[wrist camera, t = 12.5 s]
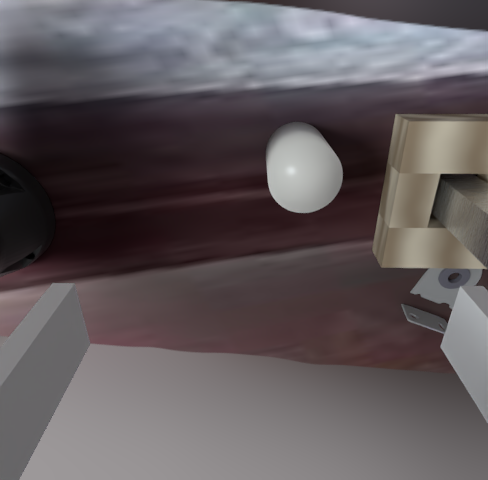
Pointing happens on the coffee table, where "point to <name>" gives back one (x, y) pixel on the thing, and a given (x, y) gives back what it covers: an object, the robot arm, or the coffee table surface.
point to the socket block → (427, 189)
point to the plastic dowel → (302, 168)
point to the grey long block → (464, 211)
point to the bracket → (439, 293)
